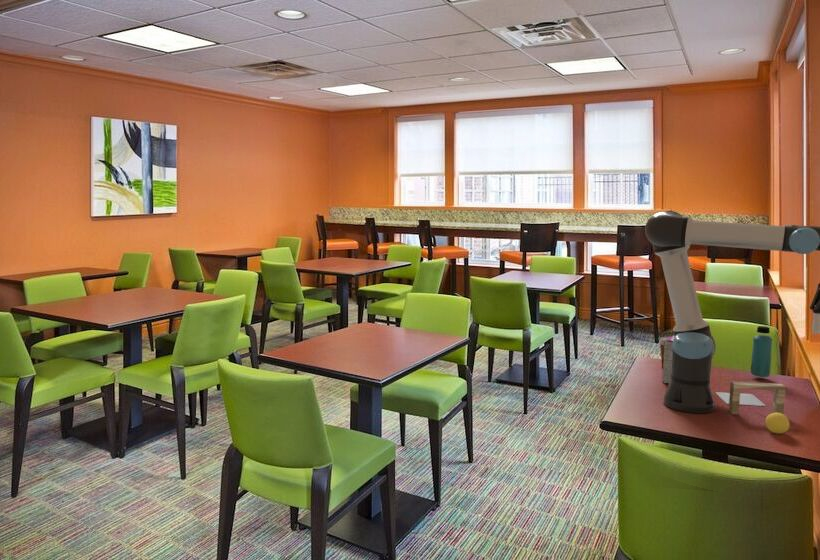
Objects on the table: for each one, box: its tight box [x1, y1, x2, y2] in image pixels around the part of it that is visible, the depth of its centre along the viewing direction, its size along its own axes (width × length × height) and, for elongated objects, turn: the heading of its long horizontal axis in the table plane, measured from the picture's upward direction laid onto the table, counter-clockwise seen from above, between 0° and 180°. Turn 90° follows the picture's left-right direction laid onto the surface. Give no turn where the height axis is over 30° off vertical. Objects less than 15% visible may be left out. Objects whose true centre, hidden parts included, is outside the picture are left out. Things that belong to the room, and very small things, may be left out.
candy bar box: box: [661, 335, 674, 385], centre depth 226 cm, size 11×5×16 cm, turn 138°
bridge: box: [728, 380, 787, 415], centre depth 192 cm, size 3×15×10 cm, turn 80°
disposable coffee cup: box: [659, 336, 671, 369], centre depth 242 cm, size 10×10×12 cm
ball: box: [765, 413, 790, 435], centre depth 177 cm, size 6×6×6 cm
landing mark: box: [714, 391, 767, 407], centre depth 206 cm, size 12×12×1 cm
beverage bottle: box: [750, 325, 773, 378], centre depth 229 cm, size 6×7×20 cm
